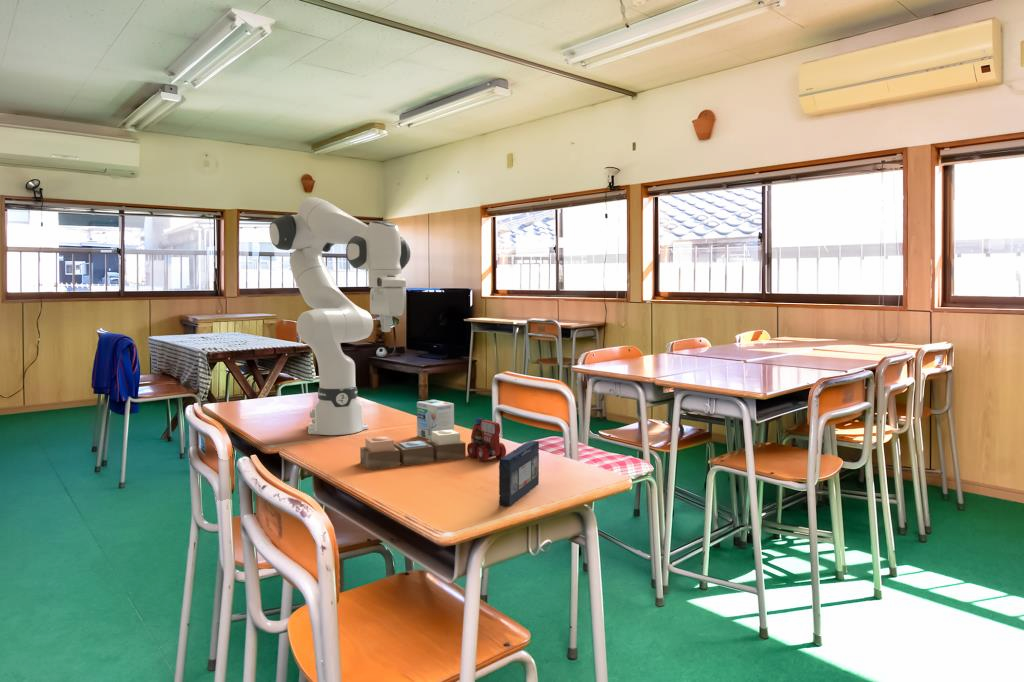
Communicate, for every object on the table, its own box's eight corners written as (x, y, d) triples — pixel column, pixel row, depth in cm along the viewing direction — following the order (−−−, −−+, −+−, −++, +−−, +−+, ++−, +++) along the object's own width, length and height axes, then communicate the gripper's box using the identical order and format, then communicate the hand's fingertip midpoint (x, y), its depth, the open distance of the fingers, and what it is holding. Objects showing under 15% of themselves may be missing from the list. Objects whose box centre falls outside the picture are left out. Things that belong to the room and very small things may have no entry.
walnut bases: (360, 462, 176) (360, 447, 176) (454, 451, 188) (454, 437, 188) (368, 469, 169) (368, 453, 169) (465, 457, 181) (465, 442, 181)
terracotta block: (365, 453, 176) (365, 437, 175) (387, 451, 178) (387, 434, 178) (371, 458, 170) (371, 441, 170) (394, 455, 173) (393, 439, 173)
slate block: (399, 457, 180) (399, 441, 180) (420, 455, 182) (420, 439, 182) (406, 462, 175) (406, 446, 174) (428, 460, 177) (427, 443, 177)
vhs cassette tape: (509, 507, 139) (509, 459, 138) (496, 506, 140) (496, 458, 140) (541, 484, 156) (541, 441, 155) (529, 483, 157) (528, 440, 156)
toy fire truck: (484, 451, 188) (484, 414, 188) (509, 460, 178) (509, 421, 177) (462, 455, 185) (462, 416, 184) (487, 464, 174) (486, 424, 174)
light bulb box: (416, 436, 208) (415, 401, 208) (434, 433, 213) (433, 399, 212) (437, 442, 200) (436, 405, 200) (455, 438, 205) (454, 403, 204)
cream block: (431, 446, 184) (431, 430, 183) (451, 443, 186) (451, 428, 186) (439, 450, 179) (439, 434, 178) (460, 448, 181) (459, 432, 181)
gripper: (363, 281, 193) (364, 330, 194) (384, 280, 175) (385, 334, 176) (385, 281, 196) (386, 329, 197) (408, 280, 178) (408, 333, 179)
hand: (386, 331), depth 186 cm, fingers closed
